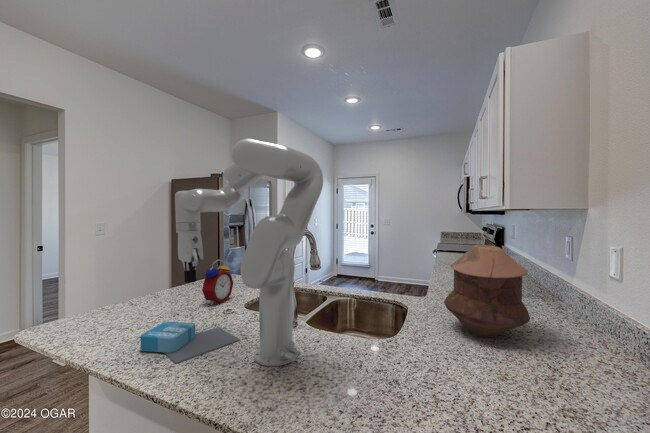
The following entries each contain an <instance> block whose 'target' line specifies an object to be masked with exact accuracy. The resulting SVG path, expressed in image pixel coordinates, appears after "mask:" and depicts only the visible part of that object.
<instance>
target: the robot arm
mask: <svg viewBox="0 0 650 433" xmlns="http://www.w3.org/2000/svg"><path fill="white" fill-rule="evenodd" d="M231 159H232V161H233V162H231V163H230V164H229V165H227V167H225V169H224V173H223V174H224V179H225V180H226V182H227V184H225V185H224V186H223V187H221V188H220V189H209V188H206V189H205V188H195V189H189V190H179V191H177V192H175V194H174V207H175V209H174V210H175V232H176V234H177V256H178V257H177V258H178V260H180V261H181V263H182V265H183V275H184V283H187V284H189V283H190V284H191V283H195V282H197V266H199V261H200V262H201V261H203V260H204V249H203V240H202V234H201V231H202V227H201V226H202V224H201V213H220V212H221V213H222V212H224V211H226V210H228V209H230V208H231V207H232V206H235V204H237V203H238V202H239V201H240V200H241V199H242V197H243V196H244V193H245V190H246V189H247V188H249V187H251V186H252V185H254V184H255V183H256V182H257V181H259V180H260V179H262V178H263V177H265V176H266V177H270V178H273V179H277V180H283V181H289V182H293V183H294V184H293V187H292V188H291V189H290V191H289V192H288V193H287V195H286V197H285V199H284V201H283V204H282V206H281V209H280V211H279V213H277V214H273V215H268V216H267V215H266V216H265V217H262V218H261V219H260V220H259V221H258V222H257V224H256V225H255V226H254V229H253V230H252V233H251V236H250V238H249V240H248V243H247V245H246V249H245V251H244V254H243V256H242V259H241V264H240V278H241V280H242V282H243V283H244V285H245V286H247V287H248V288H250V289H256V290H257V289H259V298H258V300H259V302H258V305H259V306H258V309H259V310H258V312H259V319H258V320H259V347H258V348H257V349H256V350H255V352H254V356H253V357H254V360H255V362H256V363H257V364H259V365H262V366H263V367H264V366H265V367H280V366H284V365H287V364H290V363H294V362H296V360H297V358H298V356H299V355H300V351H299V349H298V347H297V346H296V345H295V341H294V340H293V286H294V285H293V283H294V276H295V272H296V271H295V268H296V264H295V263H296V262H295V259H294V256H293V255H292V253H291V251H289V250H288V249H292V248H295V247H296V246H298V245H299V244H300V243H301V242H302V240H303V237H304V235H305V233H306V231H307V227H308V226H309V223H310V221H311V218H312V215H313V213H314V210H315V207H316V205H317V203H318V200H319V198H320V196H321V194H322V190H323V187H324V186H323V185H324V175H323V171H322V168H321V167H320V164H319V163H318V162H317V161H316V160H315V159H314V157H312V156H310V155H308V154H307V153H305V152H302V151H300V150H297V149H294V148H291V147H289V146H286V145H283V144H282V145H281V144H277V143H273V142H267V141H262V140H257V139H255V138H254V139H253V138H243V139H241V140H239V141H238V142H237V143H235V145H234V147H233V148H232V151H231Z"/></svg>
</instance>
